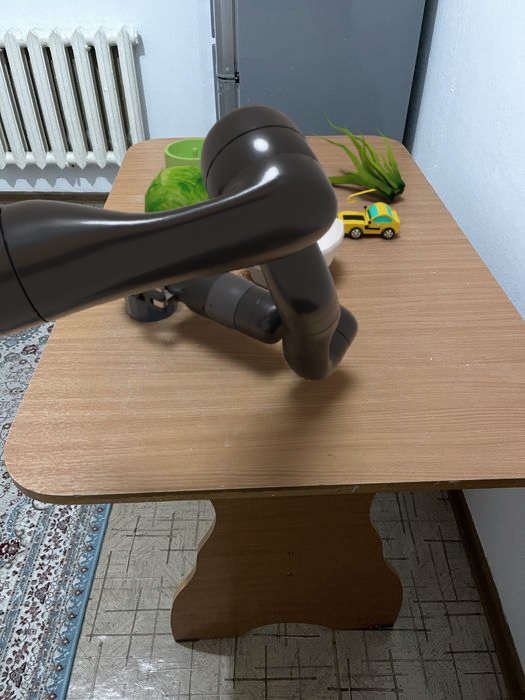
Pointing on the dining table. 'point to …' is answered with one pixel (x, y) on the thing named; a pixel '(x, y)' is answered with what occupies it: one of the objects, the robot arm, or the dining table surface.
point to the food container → (184, 153)
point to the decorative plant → (370, 169)
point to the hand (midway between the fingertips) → (146, 263)
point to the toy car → (370, 220)
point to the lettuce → (175, 189)
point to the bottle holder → (147, 310)
